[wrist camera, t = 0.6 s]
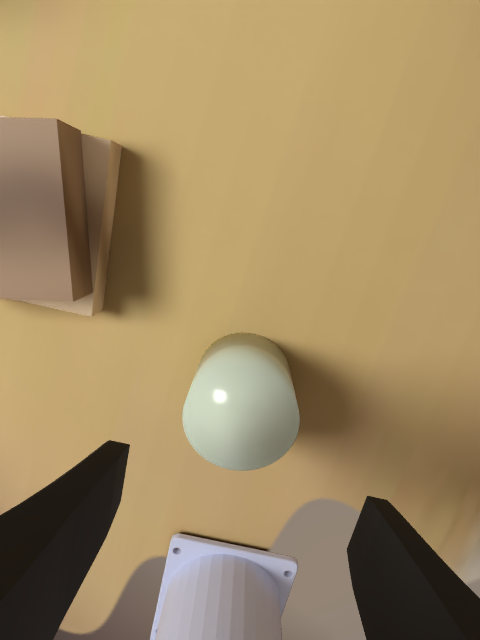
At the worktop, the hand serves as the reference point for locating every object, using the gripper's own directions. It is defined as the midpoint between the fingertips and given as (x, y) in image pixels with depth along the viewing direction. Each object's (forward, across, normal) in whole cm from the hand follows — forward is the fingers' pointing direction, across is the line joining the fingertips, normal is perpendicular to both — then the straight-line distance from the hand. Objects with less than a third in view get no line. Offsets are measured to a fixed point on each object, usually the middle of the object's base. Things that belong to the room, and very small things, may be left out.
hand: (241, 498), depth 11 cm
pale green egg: (+9, 0, 0) cm, 9 cm away
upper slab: (+8, +12, -6) cm, 16 cm away
